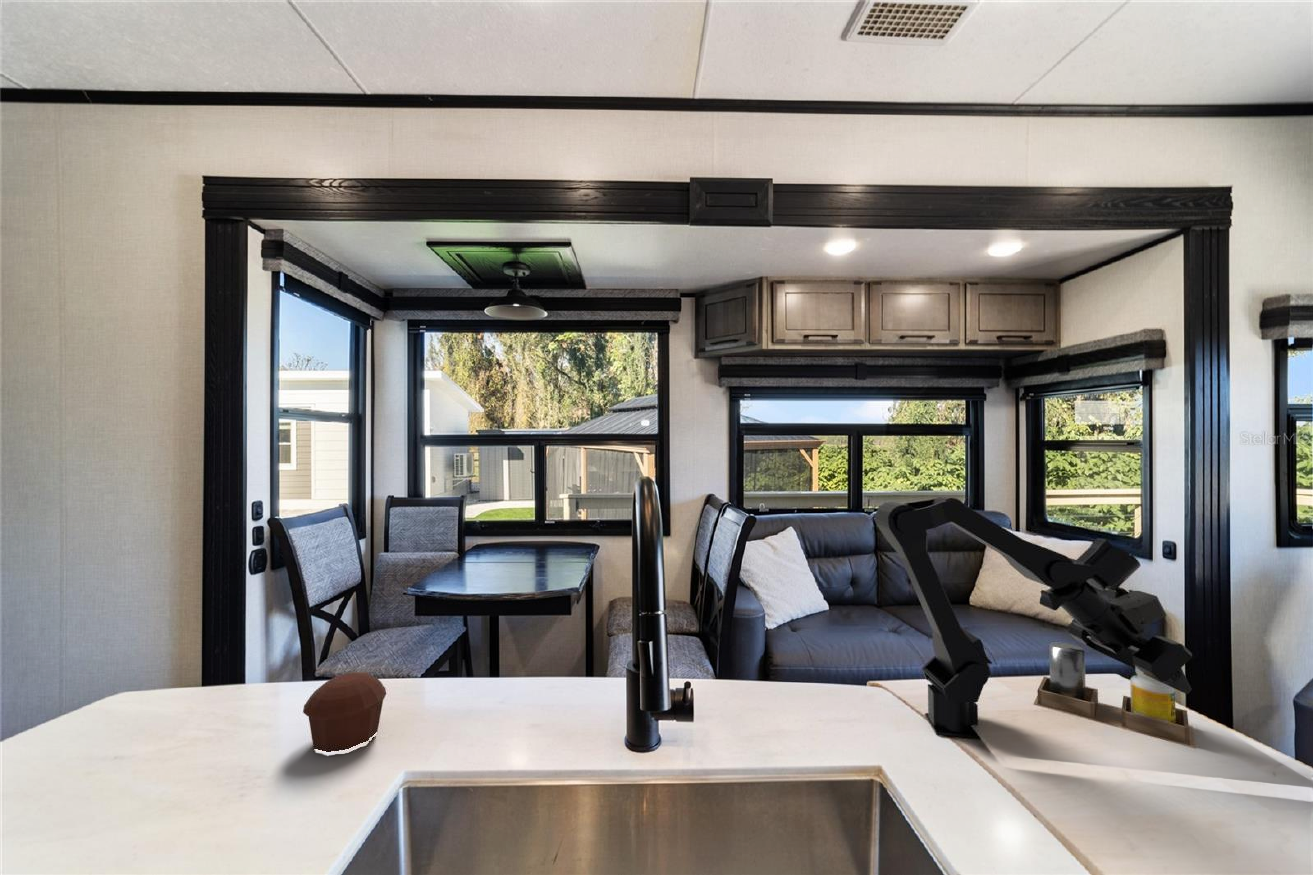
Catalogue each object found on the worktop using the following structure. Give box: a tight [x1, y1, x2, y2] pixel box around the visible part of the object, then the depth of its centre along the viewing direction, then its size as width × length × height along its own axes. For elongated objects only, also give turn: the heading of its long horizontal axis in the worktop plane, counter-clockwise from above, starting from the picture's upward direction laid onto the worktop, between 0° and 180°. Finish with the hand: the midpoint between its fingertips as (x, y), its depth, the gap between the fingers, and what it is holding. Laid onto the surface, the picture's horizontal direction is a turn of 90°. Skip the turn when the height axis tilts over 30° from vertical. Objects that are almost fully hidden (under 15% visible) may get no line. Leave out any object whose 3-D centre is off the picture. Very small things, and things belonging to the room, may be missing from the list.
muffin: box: [302, 671, 387, 752], centre depth 84 cm, size 12×11×10 cm
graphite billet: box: [1048, 641, 1087, 701], centre depth 94 cm, size 5×5×10 cm
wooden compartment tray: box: [1032, 676, 1196, 749], centre depth 90 cm, size 20×9×4 cm, turn 46°
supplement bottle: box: [1129, 666, 1176, 724], centre depth 86 cm, size 5×5×10 cm
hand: (1162, 678), depth 86 cm, fingers open, 9 cm apart
